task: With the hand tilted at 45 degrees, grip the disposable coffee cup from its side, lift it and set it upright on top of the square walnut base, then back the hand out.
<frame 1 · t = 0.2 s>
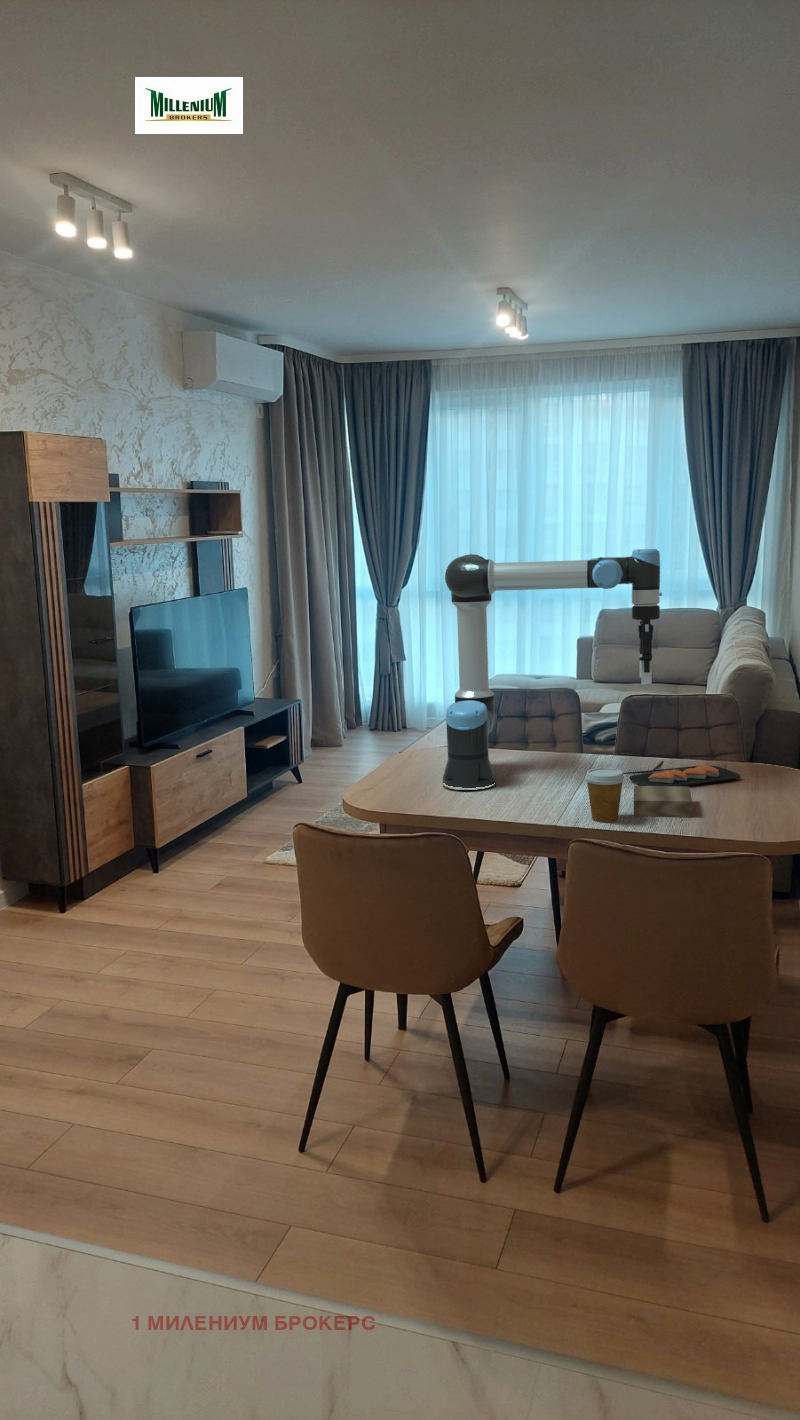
hand: (645, 680, 279), 28 cm above the table, tool pointing down, fingers open, 13 cm apart
walnut base: (662, 808, 252), on the table
sushi plate: (669, 777, 285), on the table
disposable coffee cup: (604, 819, 246), on the table
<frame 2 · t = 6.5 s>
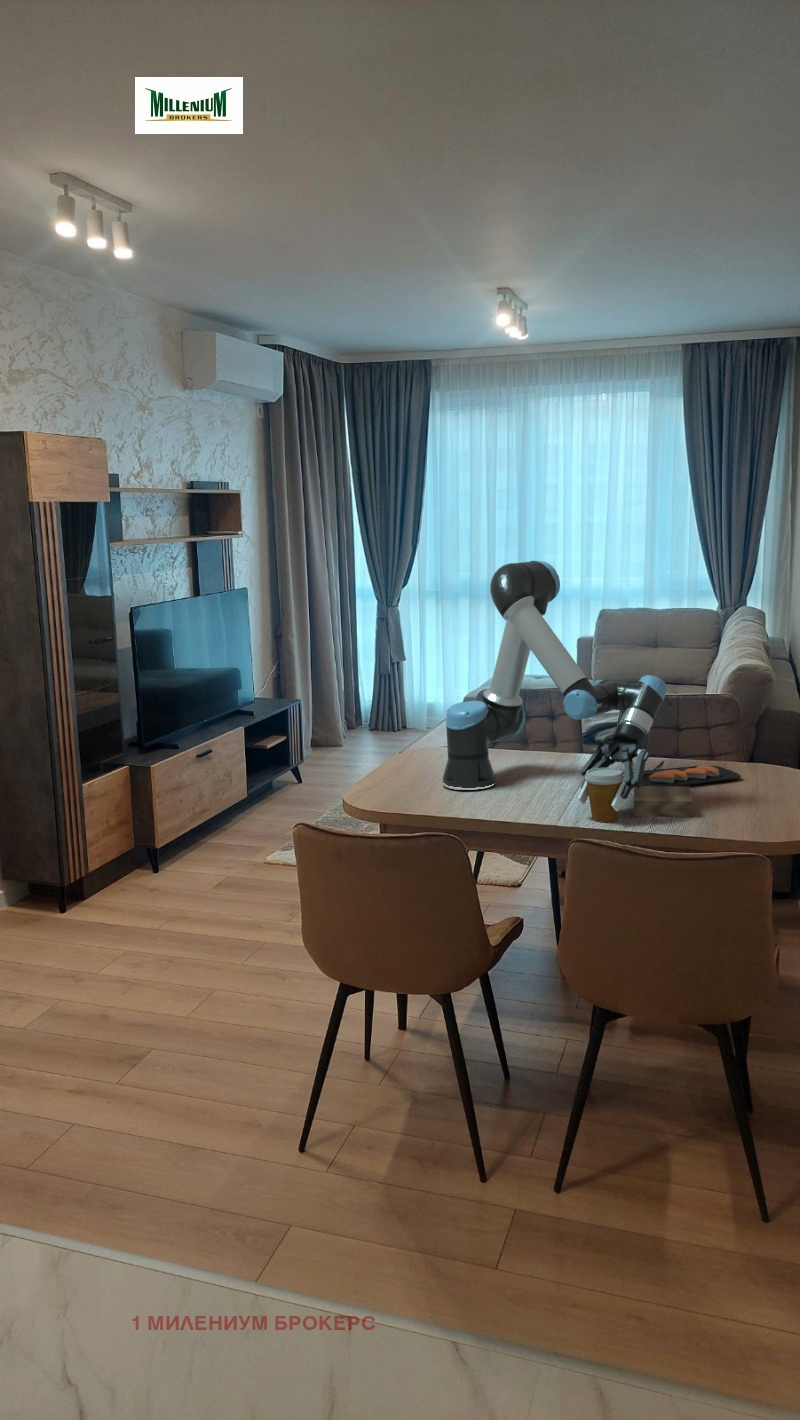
hand: (597, 804, 243), 4 cm above the table, tool tilted 45°, fingers closed on disposable coffee cup, 9 cm apart
disposable coffee cup: (604, 819, 246), on the table, touching gripper
everything else where it was.
when the fingers open (10 cm above the table, at t = 11.7 s): disposable coffee cup drops 1 cm, resting on walnut base.
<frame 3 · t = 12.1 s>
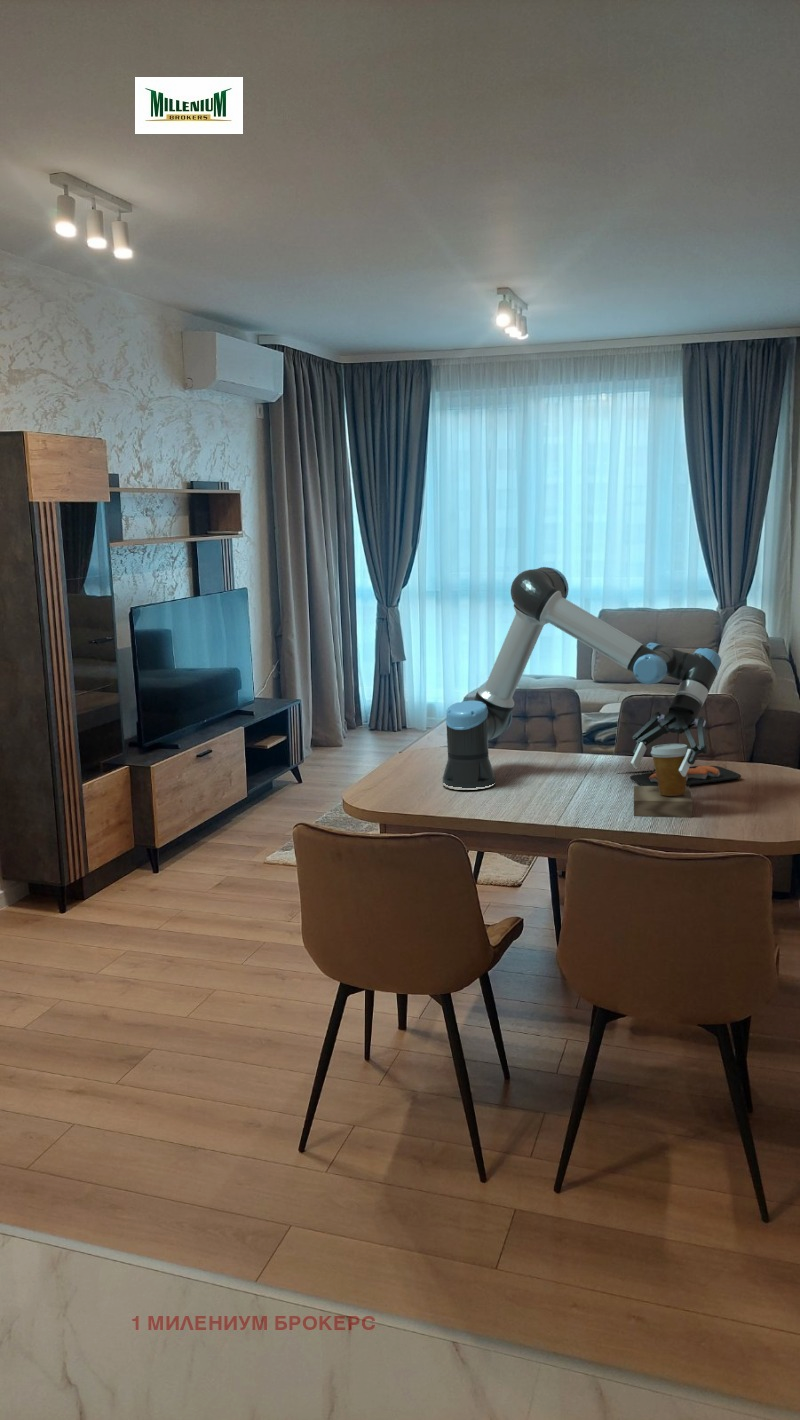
hand: (657, 769, 249), 11 cm above the table, tool tilted 45°, fingers open, 13 cm apart
disposable coffee cup: (672, 794, 250), point 4 cm above the table, touching gripper, walnut base
everything else where it was.
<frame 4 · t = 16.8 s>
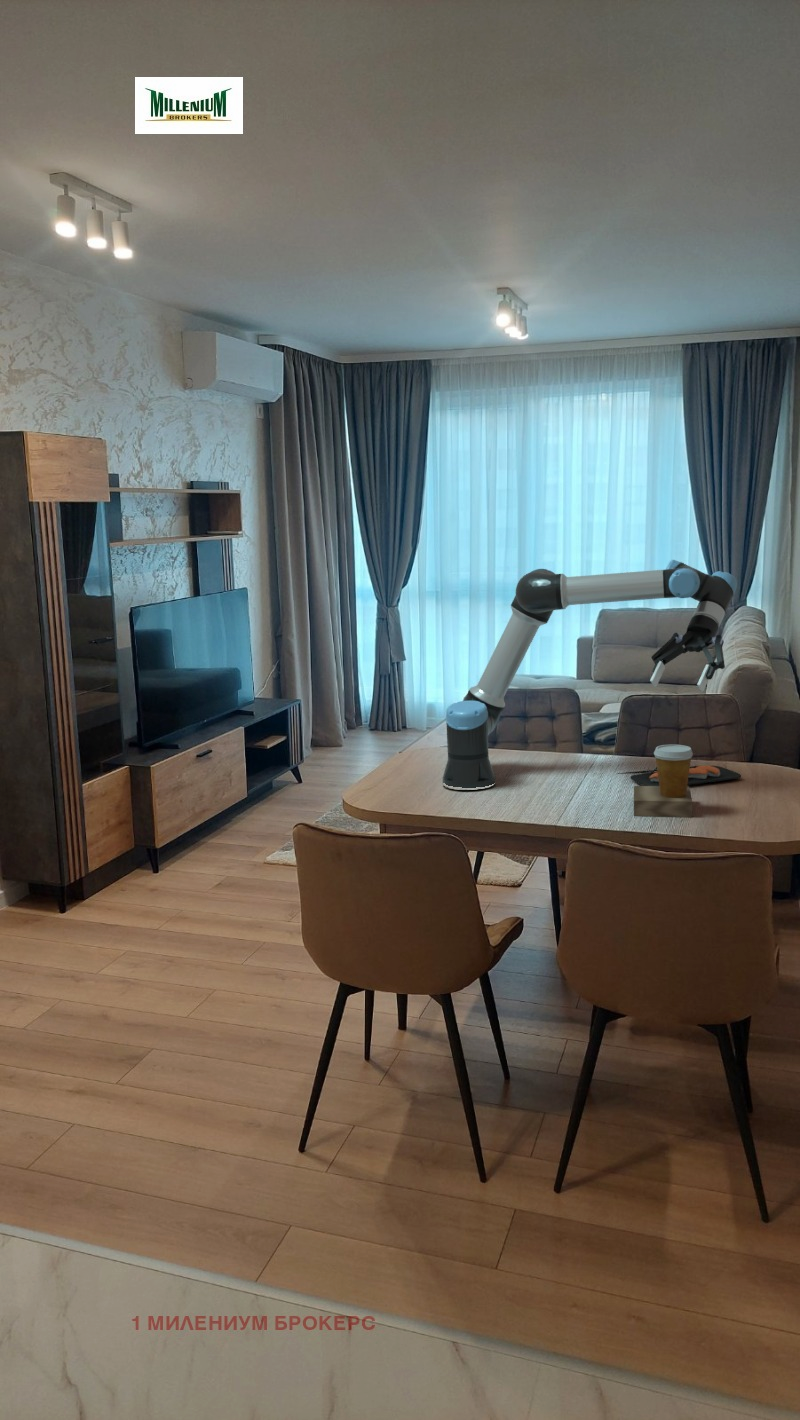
hand: (676, 685, 258), 30 cm above the table, tool tilted 45°, fingers open, 13 cm apart
disposable coffee cup: (673, 795, 250), point 4 cm above the table, touching walnut base
everything else where it was.
at the end: disposable coffee cup inside the target area on the walnut base (2.8 cm from its centre), point 3.8 cm above the walnut base's base; disposable coffee cup tilted 0°; the gripper is holding nothing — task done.
